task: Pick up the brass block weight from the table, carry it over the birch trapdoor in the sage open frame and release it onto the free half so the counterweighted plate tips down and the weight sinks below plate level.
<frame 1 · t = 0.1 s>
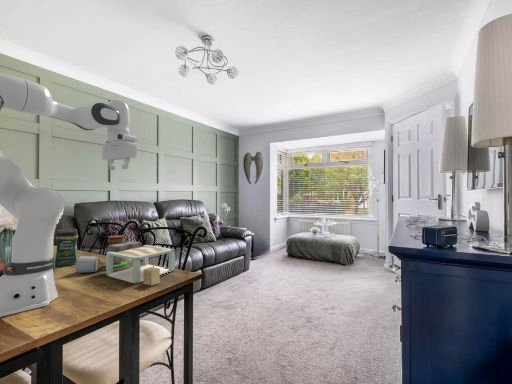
hand: (118, 169, 119), 48 cm above the table, fingers open, 8 cm apart
coffee jar: (66, 264, 140), on the table
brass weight: (151, 283, 111), on the table
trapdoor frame: (141, 273, 125), on the table
ceramic mug: (88, 272, 127), on the table
trapdoor plate: (136, 250, 127), point 10 cm above the table, hinge at 0.0°
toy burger: (114, 265, 139), on the table
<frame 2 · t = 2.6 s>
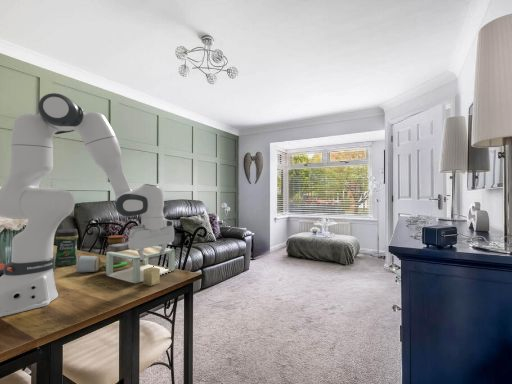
hand: (152, 256, 111), 11 cm above the table, fingers open, 8 cm apart
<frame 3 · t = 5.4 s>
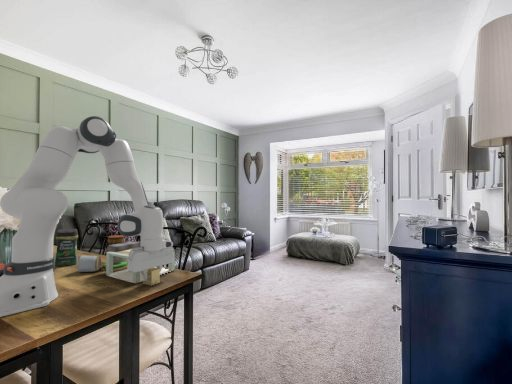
hand: (151, 278, 111), 2 cm above the table, fingers closed on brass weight, 4 cm apart
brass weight: (151, 283, 111), on the table, touching gripper
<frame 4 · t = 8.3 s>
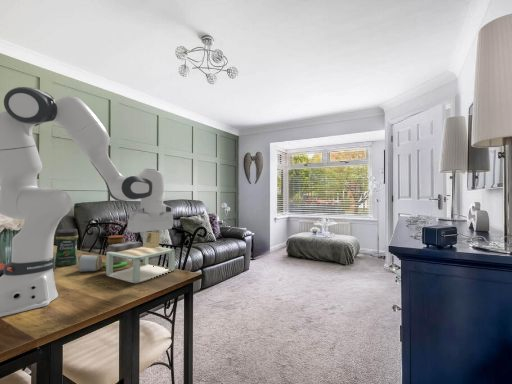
hand: (151, 241, 111), 17 cm above the table, fingers closed on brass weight, 4 cm apart
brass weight: (150, 247, 111), point 15 cm above the table, touching gripper
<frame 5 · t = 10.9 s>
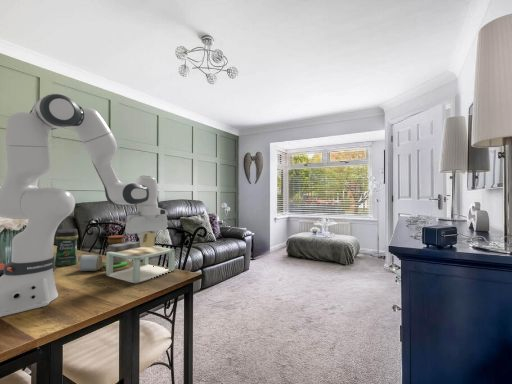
hand: (147, 241, 123), 15 cm above the table, fingers closed on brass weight, 4 cm apart
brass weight: (147, 246, 123), point 13 cm above the table, touching gripper
when the fingers open (15 cm above the table, at t = 11.5 s): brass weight drops 9 cm and tips over, resting on trapdoor plate.
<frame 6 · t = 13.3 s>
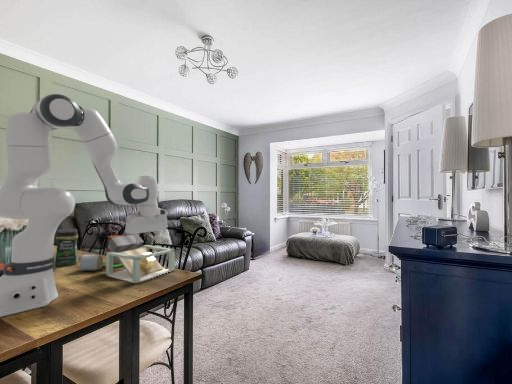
hand: (147, 241, 123), 15 cm above the table, fingers open, 8 cm apart
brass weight: (144, 266, 124), point 4 cm above the table, tilted 35°, touching trapdoor plate
trapdoor plate: (135, 255, 127), point 8 cm above the table, hinge at -34.5°, touching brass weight, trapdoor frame
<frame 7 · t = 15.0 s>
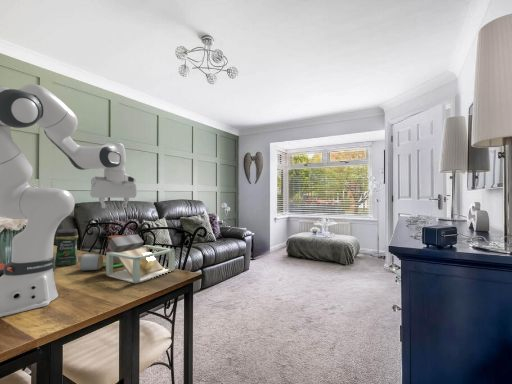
hand: (114, 207, 123), 31 cm above the table, fingers open, 8 cm apart
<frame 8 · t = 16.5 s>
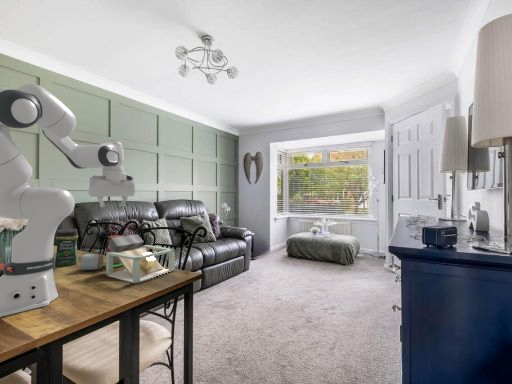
hand: (113, 206, 123), 31 cm above the table, fingers open, 8 cm apart
at the end: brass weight point 3.5 cm above the table; the gripper is holding nothing; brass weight 2.1 cm from the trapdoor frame (horizontally) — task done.
